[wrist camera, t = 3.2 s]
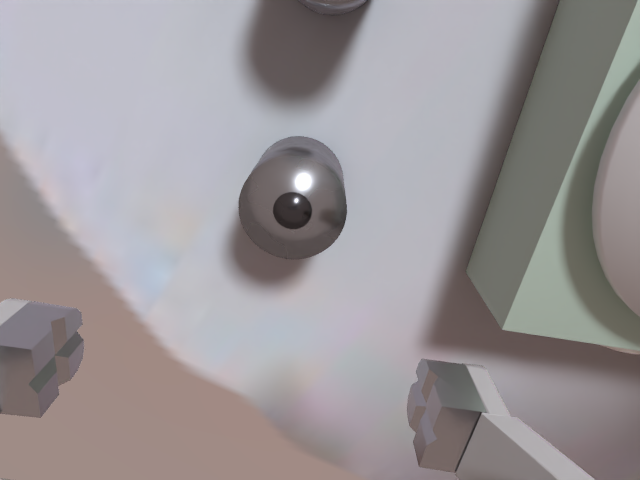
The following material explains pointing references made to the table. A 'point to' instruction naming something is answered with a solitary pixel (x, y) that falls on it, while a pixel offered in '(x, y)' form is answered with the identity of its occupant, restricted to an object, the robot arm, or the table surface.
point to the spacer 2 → (332, 6)
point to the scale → (571, 188)
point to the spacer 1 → (294, 199)
